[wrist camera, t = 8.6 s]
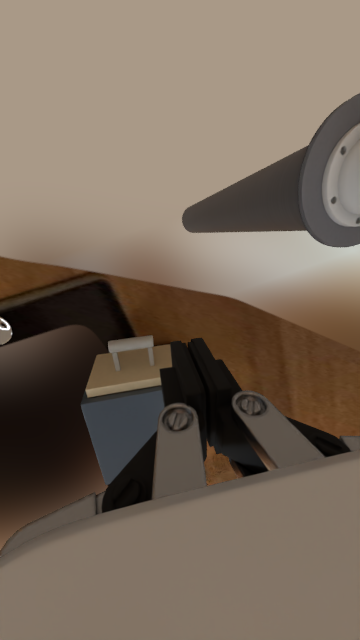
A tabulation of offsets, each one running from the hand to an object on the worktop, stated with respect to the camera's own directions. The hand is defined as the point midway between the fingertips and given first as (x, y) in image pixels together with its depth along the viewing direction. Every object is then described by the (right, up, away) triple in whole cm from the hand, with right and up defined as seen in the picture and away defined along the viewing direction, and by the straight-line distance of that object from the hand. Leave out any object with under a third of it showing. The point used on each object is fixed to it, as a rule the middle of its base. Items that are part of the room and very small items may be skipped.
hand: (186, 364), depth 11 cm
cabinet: (-7, -10, +25) cm, 28 cm away
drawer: (-7, -6, +23) cm, 25 cm away
